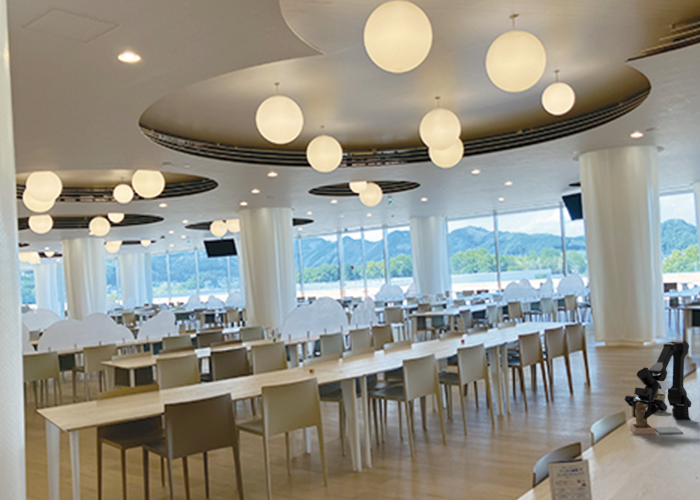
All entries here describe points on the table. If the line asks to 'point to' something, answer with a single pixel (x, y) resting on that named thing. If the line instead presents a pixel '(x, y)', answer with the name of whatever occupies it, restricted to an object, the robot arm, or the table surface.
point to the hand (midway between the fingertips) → (639, 417)
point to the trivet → (668, 430)
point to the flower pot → (660, 397)
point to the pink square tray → (642, 429)
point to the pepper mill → (640, 415)
